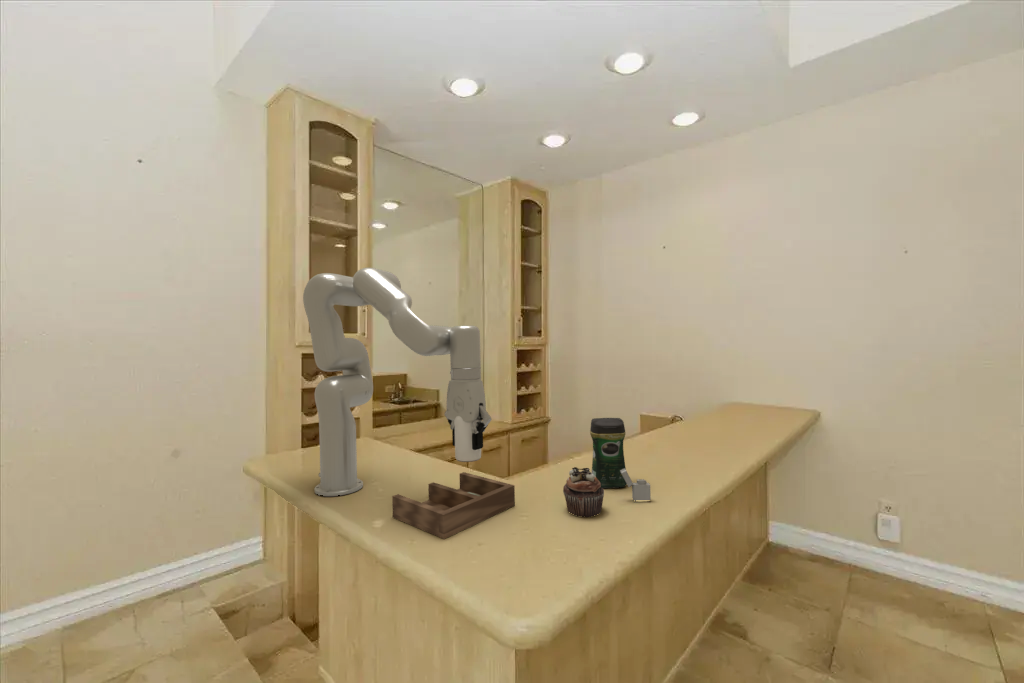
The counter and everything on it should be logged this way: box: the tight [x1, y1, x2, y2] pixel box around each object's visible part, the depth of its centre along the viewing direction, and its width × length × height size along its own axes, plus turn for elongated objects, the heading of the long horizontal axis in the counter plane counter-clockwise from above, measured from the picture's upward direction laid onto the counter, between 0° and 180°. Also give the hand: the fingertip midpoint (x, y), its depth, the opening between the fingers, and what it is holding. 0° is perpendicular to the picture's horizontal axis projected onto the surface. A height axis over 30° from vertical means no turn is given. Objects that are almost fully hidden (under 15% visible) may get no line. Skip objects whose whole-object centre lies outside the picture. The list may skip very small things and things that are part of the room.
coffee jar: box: [589, 417, 628, 489], centre depth 121 cm, size 10×8×19 cm
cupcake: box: [562, 466, 605, 518], centre depth 103 cm, size 10×10×10 cm
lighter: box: [620, 468, 652, 501], centre depth 109 cm, size 7×2×8 cm, turn 87°
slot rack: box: [391, 471, 516, 540], centre depth 104 cm, size 18×23×5 cm
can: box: [454, 416, 482, 463], centre depth 109 cm, size 6×6×12 cm
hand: (467, 446), depth 109 cm, fingers closed on can, 6 cm apart
